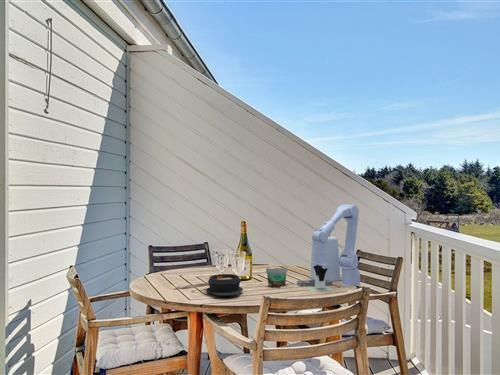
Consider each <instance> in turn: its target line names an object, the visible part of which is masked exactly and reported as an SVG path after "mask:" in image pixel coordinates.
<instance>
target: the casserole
mask: <svg viewBox="0 0 500 375" xmlns="http://www.w3.org/2000/svg"><path fill="white" fill-rule="evenodd" d="M207 283H208V285H209V287H207V288H206V290H205V291H206V292H207V293H209V294H212V295H214V296H218V297H228V296H230V297H231V296H238V295H239V294H240V293H241V292H242V291H244V288H242V286H240V285H241V283H242V280H241V278H240V276H239V275H237V274H233V273H232V274H231V273H220V274H214V275H210V276H209V278H208V280H207Z"/></svg>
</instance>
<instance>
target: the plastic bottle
mask: <svg viewBox="0 0 500 375" xmlns="http://www.w3.org/2000/svg"><path fill="white" fill-rule="evenodd" d="M339 257H340V254H339V242H338V238H337V237H335V236H333V235H331V233H330V234H329V236H328V240H327V241H326V265H327V268H328V269H327V271H326V274H325V279H329V280H330V281H332V282H339V281H341V280H342V275H341V266H340V265H339V263H338V260H339ZM314 261H315V245H314V241H313V240H312V242H311V262H310V278H311V279H310V280H315V275H316V272H315V269H314V267H313V266H316V264H313V262H314Z"/></svg>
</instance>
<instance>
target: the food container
mask: <svg viewBox="0 0 500 375" xmlns="http://www.w3.org/2000/svg"><path fill="white" fill-rule="evenodd" d="M265 272H266V276H267V285H268V287H270V288H281V287H285V286H286V281H287V272H289V271H288V267H287V266H285V267H283V268H279V267H276V268H275V267H274V268H270V267H266V268H265Z"/></svg>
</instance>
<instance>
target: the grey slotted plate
mask: <svg viewBox="0 0 500 375" xmlns="http://www.w3.org/2000/svg"><path fill="white" fill-rule="evenodd" d="M296 284H297V286H299V287H301V288H302V287H315V280H314V279H301V280H296ZM330 286H333V281H330V280H329V279H325V287H330Z"/></svg>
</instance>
